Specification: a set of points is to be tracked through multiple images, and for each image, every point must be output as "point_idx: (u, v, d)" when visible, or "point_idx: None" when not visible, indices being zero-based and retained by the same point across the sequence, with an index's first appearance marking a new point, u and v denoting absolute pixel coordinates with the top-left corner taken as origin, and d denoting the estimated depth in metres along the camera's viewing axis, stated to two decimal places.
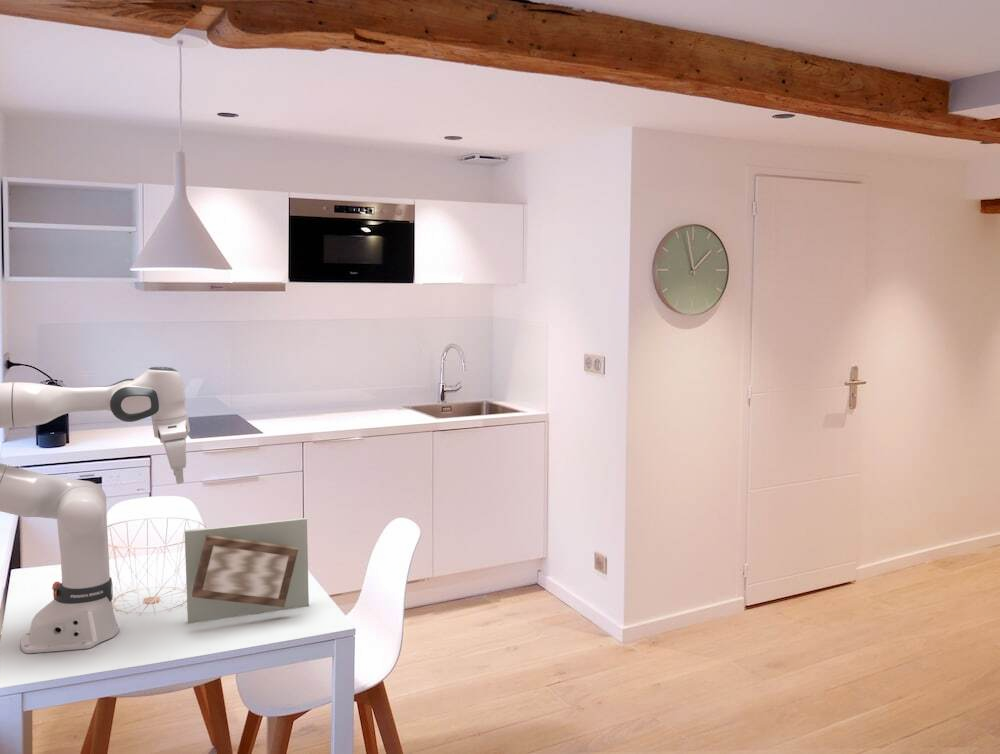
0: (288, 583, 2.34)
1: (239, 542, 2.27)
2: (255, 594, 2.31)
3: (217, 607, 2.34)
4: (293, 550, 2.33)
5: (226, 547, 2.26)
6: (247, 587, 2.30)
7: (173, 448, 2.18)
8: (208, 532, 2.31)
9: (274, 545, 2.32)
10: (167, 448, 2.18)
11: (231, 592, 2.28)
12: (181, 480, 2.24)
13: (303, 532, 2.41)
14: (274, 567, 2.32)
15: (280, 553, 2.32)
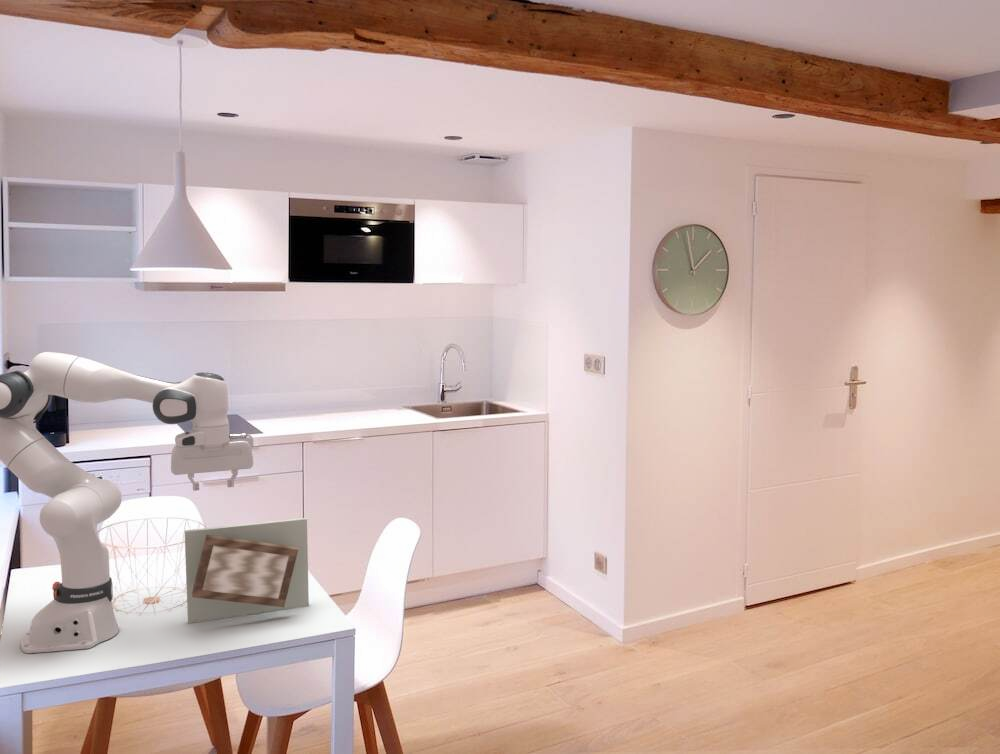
0: (288, 583, 2.34)
1: (239, 542, 2.27)
2: (255, 594, 2.31)
3: (217, 607, 2.34)
4: (293, 550, 2.33)
5: (226, 547, 2.26)
6: (247, 587, 2.30)
7: (172, 452, 2.20)
8: (208, 532, 2.31)
9: (274, 545, 2.32)
10: (172, 450, 2.22)
11: (231, 592, 2.28)
12: (193, 488, 2.22)
13: (303, 532, 2.41)
14: (274, 567, 2.32)
15: (280, 553, 2.32)
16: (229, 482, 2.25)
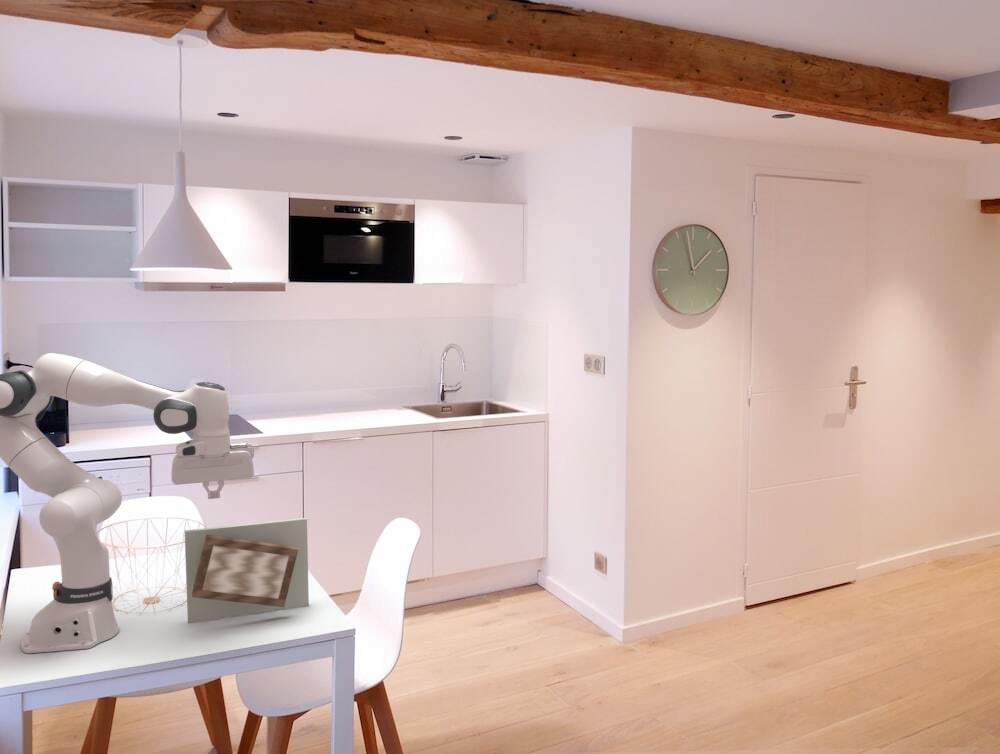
0: (288, 583, 2.34)
1: (239, 542, 2.27)
2: (255, 594, 2.31)
3: (217, 607, 2.34)
4: (293, 550, 2.33)
5: (226, 547, 2.26)
6: (247, 587, 2.30)
7: (173, 462, 2.20)
8: (208, 532, 2.31)
9: (274, 545, 2.32)
10: (173, 460, 2.22)
11: (231, 592, 2.28)
12: (208, 496, 2.24)
13: (303, 532, 2.41)
14: (274, 567, 2.32)
15: (280, 553, 2.32)
16: (215, 493, 2.24)
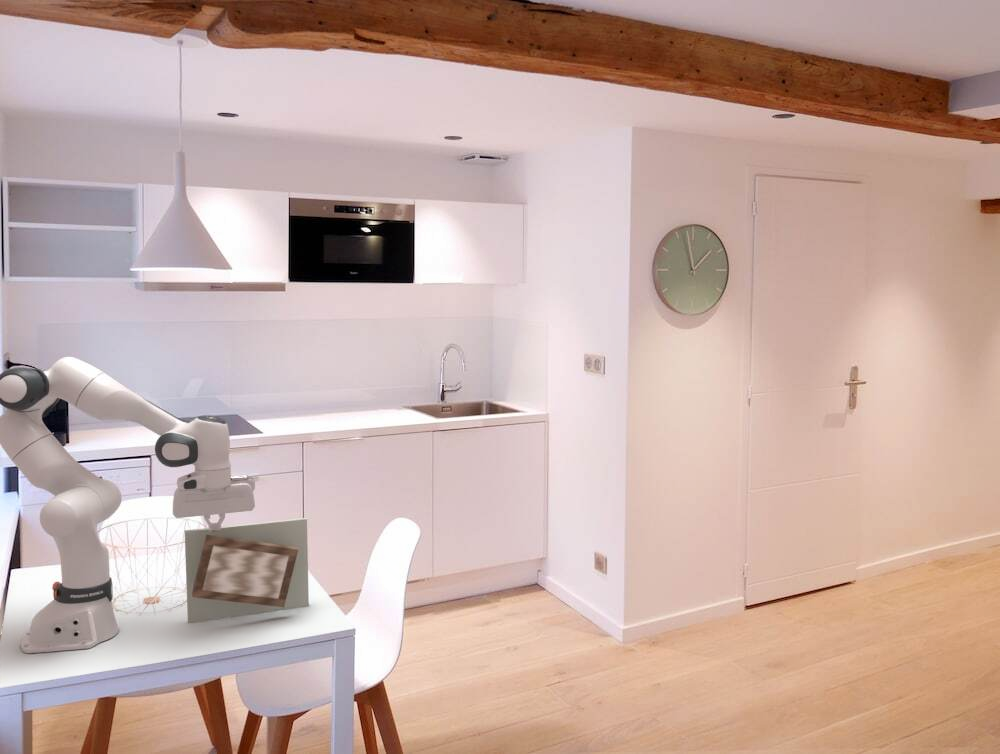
0: (288, 583, 2.34)
1: (239, 542, 2.27)
2: (255, 594, 2.31)
3: (217, 607, 2.34)
4: (293, 550, 2.33)
5: (226, 547, 2.26)
6: (247, 587, 2.30)
7: (174, 495, 2.21)
8: (208, 532, 2.31)
9: (274, 545, 2.32)
10: (174, 493, 2.23)
11: (231, 592, 2.28)
12: (209, 529, 2.25)
13: (303, 532, 2.41)
14: (274, 567, 2.32)
15: (280, 553, 2.32)
16: (216, 526, 2.25)
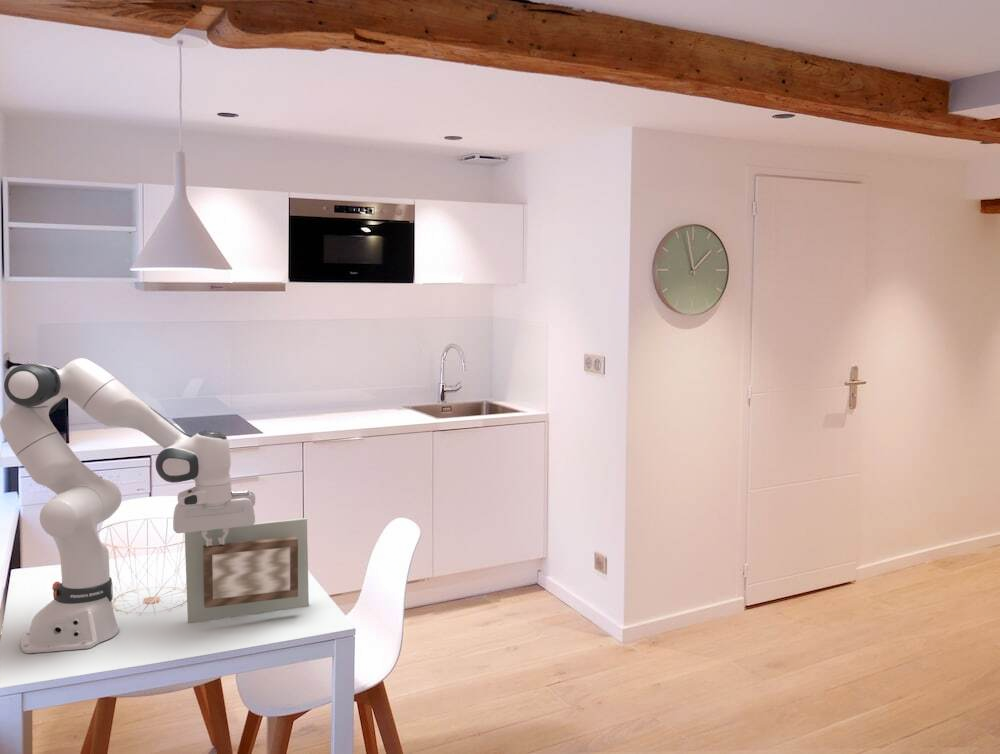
0: (296, 573, 2.34)
1: (237, 545, 2.27)
2: (266, 591, 2.32)
3: (217, 607, 2.34)
4: (293, 540, 2.33)
5: (225, 553, 2.26)
6: (256, 586, 2.31)
7: (174, 510, 2.22)
8: (208, 532, 2.31)
9: (273, 540, 2.32)
10: None
11: (242, 594, 2.29)
12: (206, 544, 2.25)
13: (303, 532, 2.41)
14: (278, 561, 2.32)
15: (281, 546, 2.32)
16: (220, 540, 2.26)
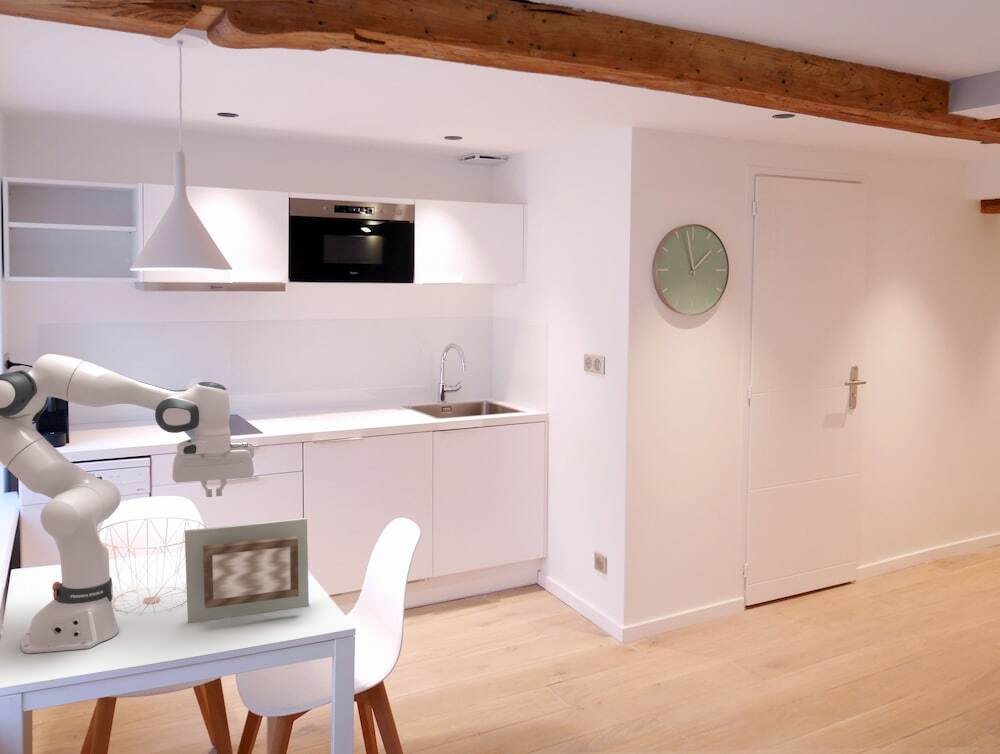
0: (296, 572, 2.34)
1: (237, 545, 2.27)
2: (267, 590, 2.32)
3: (217, 607, 2.34)
4: (293, 540, 2.33)
5: (225, 553, 2.26)
6: (257, 586, 2.31)
7: (174, 460, 2.24)
8: (208, 532, 2.31)
9: (273, 540, 2.32)
10: (174, 458, 2.25)
11: (242, 594, 2.29)
12: (206, 494, 2.27)
13: (303, 532, 2.41)
14: (278, 560, 2.32)
15: (281, 546, 2.32)
16: (217, 491, 2.27)
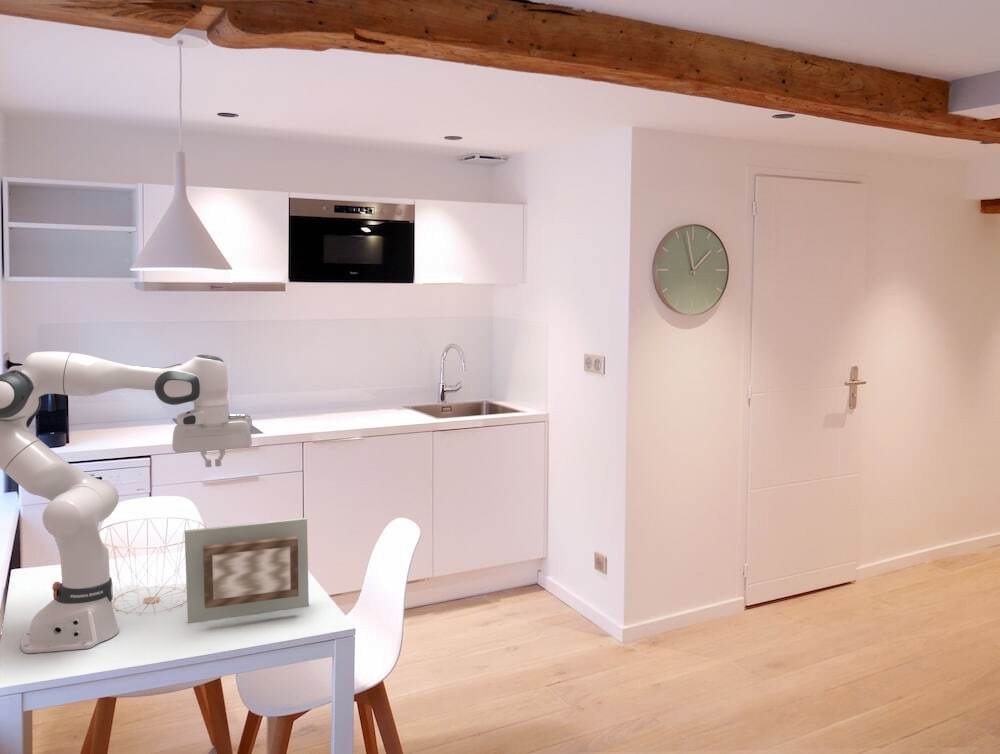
0: (296, 572, 2.34)
1: (237, 545, 2.27)
2: (267, 590, 2.32)
3: (217, 607, 2.34)
4: (293, 540, 2.33)
5: (225, 553, 2.26)
6: (257, 586, 2.31)
7: (174, 431, 2.29)
8: (208, 532, 2.31)
9: (273, 540, 2.32)
10: (174, 429, 2.30)
11: (242, 594, 2.29)
12: (205, 464, 2.32)
13: (303, 532, 2.41)
14: (278, 560, 2.32)
15: (281, 546, 2.32)
16: (217, 461, 2.33)
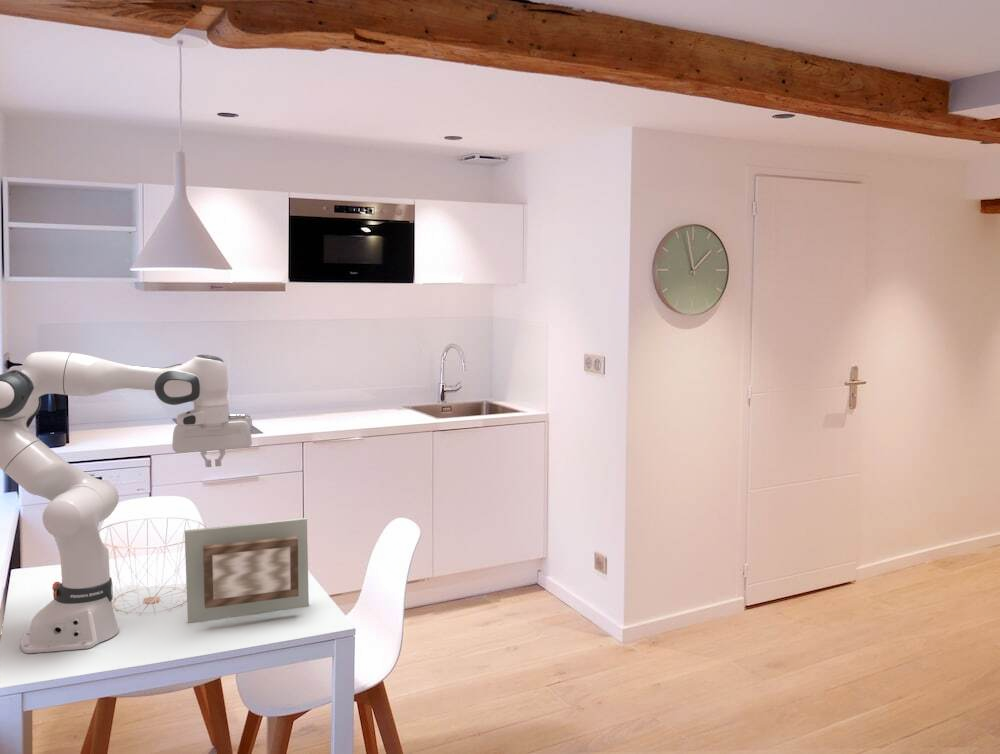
0: (296, 572, 2.34)
1: (237, 545, 2.27)
2: (267, 590, 2.32)
3: (217, 607, 2.34)
4: (293, 540, 2.33)
5: (225, 553, 2.26)
6: (257, 586, 2.31)
7: (174, 431, 2.29)
8: (208, 532, 2.31)
9: (273, 540, 2.32)
10: (174, 429, 2.30)
11: (242, 594, 2.29)
12: (205, 464, 2.32)
13: (303, 532, 2.41)
14: (278, 560, 2.32)
15: (281, 546, 2.32)
16: (217, 461, 2.33)
